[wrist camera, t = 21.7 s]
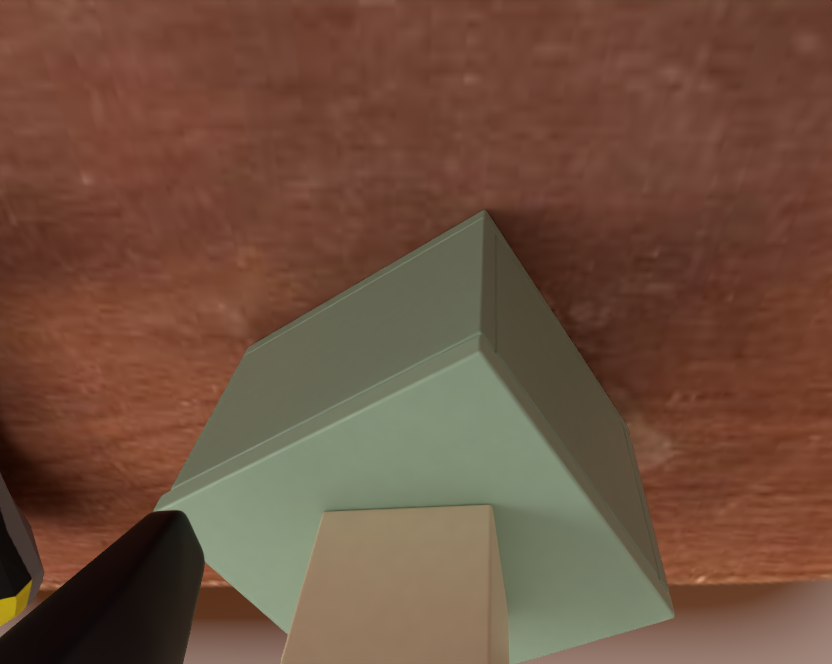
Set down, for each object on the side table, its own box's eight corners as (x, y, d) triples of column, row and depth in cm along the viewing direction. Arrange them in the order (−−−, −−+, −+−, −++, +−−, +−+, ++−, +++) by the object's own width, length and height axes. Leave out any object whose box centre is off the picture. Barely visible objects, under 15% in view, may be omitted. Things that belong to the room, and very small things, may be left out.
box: (404, 519, 27) (381, 683, 21) (247, 346, 23) (169, 489, 18) (628, 426, 23) (670, 592, 18) (485, 207, 20) (481, 330, 14)
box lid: (373, 685, 21) (369, 708, 21) (160, 494, 18) (149, 514, 17) (670, 594, 18) (676, 618, 17) (481, 332, 14) (480, 351, 14)
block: (492, 502, 16) (490, 669, 12) (508, 615, 18) (510, 784, 14) (321, 509, 16) (276, 670, 13) (357, 617, 18) (325, 779, 15)
